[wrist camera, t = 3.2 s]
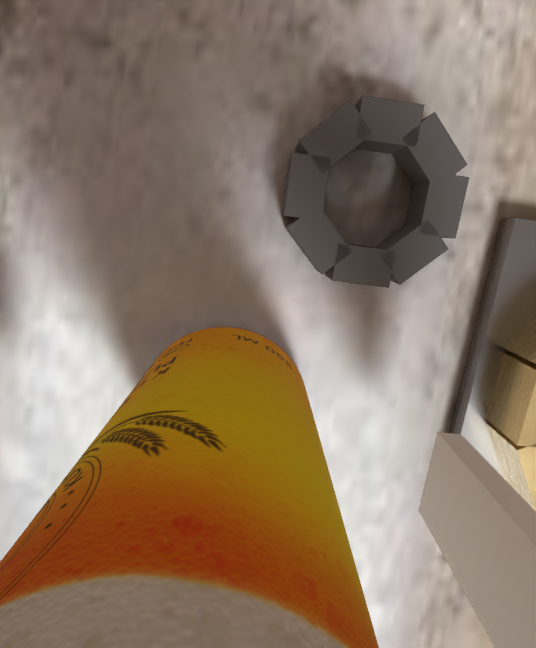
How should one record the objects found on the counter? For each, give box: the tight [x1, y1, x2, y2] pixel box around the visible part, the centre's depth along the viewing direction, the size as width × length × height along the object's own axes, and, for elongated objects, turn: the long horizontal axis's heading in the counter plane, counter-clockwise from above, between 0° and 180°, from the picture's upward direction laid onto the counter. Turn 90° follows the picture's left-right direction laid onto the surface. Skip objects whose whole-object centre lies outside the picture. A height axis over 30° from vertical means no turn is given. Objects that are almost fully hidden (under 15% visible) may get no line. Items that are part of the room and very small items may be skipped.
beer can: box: [0, 327, 379, 648], centre depth 9 cm, size 6×6×15 cm
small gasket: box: [282, 96, 469, 288], centre depth 14 cm, size 6×6×2 cm
